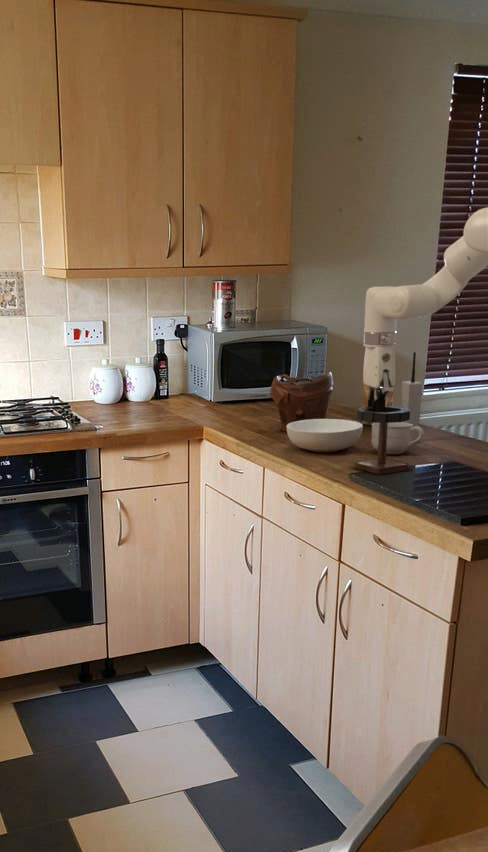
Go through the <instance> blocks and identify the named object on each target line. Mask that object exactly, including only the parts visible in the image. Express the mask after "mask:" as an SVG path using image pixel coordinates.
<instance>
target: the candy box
mask: <svg viewBox="0 0 488 852" xmlns="http://www.w3.org/2000/svg"><path fill="white" fill-rule="evenodd" d="M380 387H382V386H380ZM394 387H395V386H394ZM394 387H393V388H390V387H389V393H387V395H386V402H385V406H393V407H394V389H395V388H394ZM362 389H363V390H362V391H363V392H362V393H363V395H362V408H363V407H367V403H368V398H367V393H368V391H367V388H366V385H365V384H364V383H363V388H362ZM380 391H381V390H380ZM373 423H374V422H365V421H361V424H362V425H367V426H372V424H373Z"/></svg>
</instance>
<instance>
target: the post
mask: <svg viewBox="0 0 488 852" xmlns="http://www.w3.org/2000/svg"><path fill="white" fill-rule="evenodd" d="M387 428H388V423H387V422H386V423H379V441H378V452H377V459H370V460H363V461H358V462H357V461H356V462H355V469H357V470H360V471H364V472H368V473H371V474H375V475H387V474H391V473H399V472H406V471H408V467H409V465H408V463H404V462H400V461H396V460H392V459H389V458H387V454H386V447H387Z"/></svg>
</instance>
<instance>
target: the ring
mask: <svg viewBox="0 0 488 852" xmlns="http://www.w3.org/2000/svg"><path fill="white" fill-rule="evenodd" d="M410 412H411V410H410V409H408V408H404V407H402V406H396V405H395V406H394V405H393V406H385V412H372V406H370V407H363V406H362V407H359V408H358V409H357V411H356V414H357V415H356V419H357V420H358V421H361V422H362V421H365V422H374V423H386V422H387V423H395V422H398V423H401V422H404V421H408V420H409V419H410Z"/></svg>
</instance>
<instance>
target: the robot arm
mask: <svg viewBox="0 0 488 852" xmlns="http://www.w3.org/2000/svg"><path fill="white" fill-rule="evenodd" d="M443 261H444V266H442V268H441V269H440V270H439V271H438V272H437V273H435V274H434V275H433V276H432V277H430V278H429V279H428V280H426V281H425V282H424V283H421V284H409V285H408V284H407V285H399V286H387V285H386V286H371V287H369V288H368V289H366V293H365V305H364V306H365V307H364V308H365V309H364V326H363V327H364V328H363V347H365V348H364V358H363V369H362V382H363V385H364V384H365V385H366V388H367V391H368V393H367V398H368V403H367V407H370V406H372V412H385V402H386V395H387V393H389V387H390V388H393V387H395V386H396V351H395V347H396V338H397V337H396V336H397V321H398V320H410V319H419V318H426V317H428V316H431V315H433V314H435V313H437V312H438V311H439V310H441V309H442V308H443V307H444V306H446V305H447V304H449V303H450V302H451V301H453V300H454V299H456V297H457V296H458V295H460V293H461V292H462V291H463V290H464V288H465V287H466V286H467V285H468V283H469V282H470V280H471V279H473V278H474V277H475V276H476V275H478V274H480V273H481V272H482V271H483V270H484V269H486V268H487V267H488V207H483V208H480V209H478V210H476V211H475V212H473V213H472V214H471V215H470V216H469V217H468V218H467V220H466V222H465V225H464V226H463V235H462V236H461V237H460V238H458V239H457V240H456V241H454V242H453V243H452V244H451V245H450V246H448V247H447V248H446V249H445V251H444V254H443ZM380 386H382V387H380ZM380 390H381V391H380Z"/></svg>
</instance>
